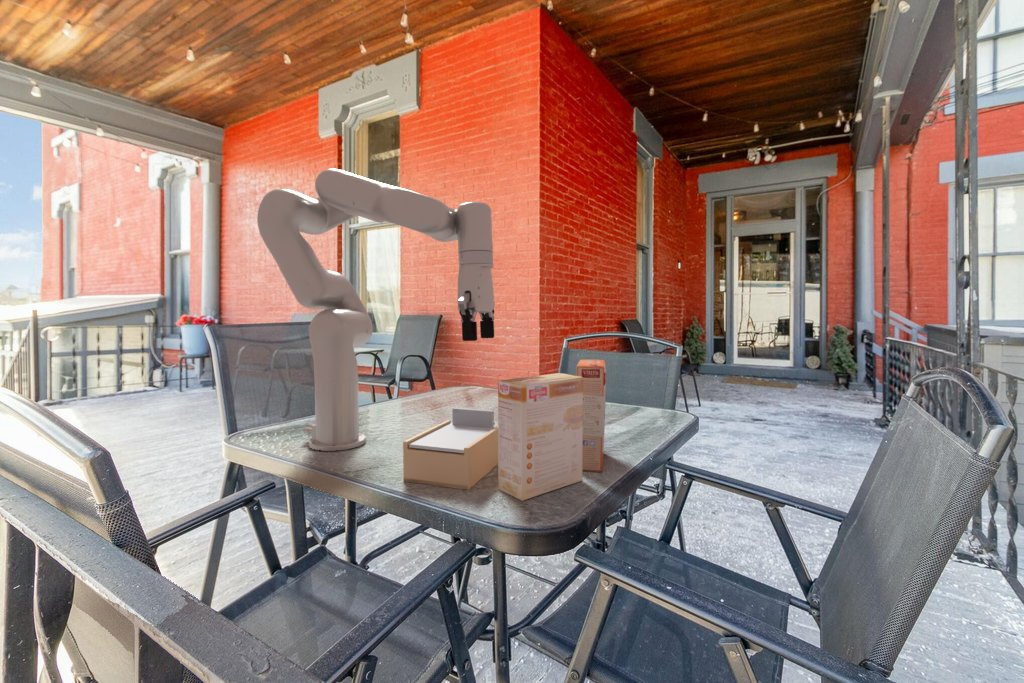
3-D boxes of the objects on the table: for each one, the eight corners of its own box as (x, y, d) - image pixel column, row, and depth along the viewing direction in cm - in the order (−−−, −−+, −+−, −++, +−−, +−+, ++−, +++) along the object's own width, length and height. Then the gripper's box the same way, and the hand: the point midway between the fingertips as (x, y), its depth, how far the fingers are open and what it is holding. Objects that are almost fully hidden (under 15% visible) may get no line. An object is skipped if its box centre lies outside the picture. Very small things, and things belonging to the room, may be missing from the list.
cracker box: (604, 473, 91) (606, 365, 89) (573, 471, 92) (574, 365, 91) (604, 452, 104) (606, 358, 103) (577, 450, 106) (578, 358, 104)
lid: (409, 447, 86) (409, 425, 85) (451, 425, 102) (451, 407, 102) (463, 453, 82) (463, 430, 82) (497, 429, 99) (497, 410, 98)
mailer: (403, 481, 86) (403, 441, 86) (447, 453, 103) (447, 420, 103) (468, 489, 82) (468, 448, 81) (503, 459, 99) (503, 424, 98)
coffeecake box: (556, 471, 92) (557, 372, 91) (584, 481, 86) (585, 376, 85) (496, 489, 82) (496, 379, 81) (522, 502, 77) (523, 384, 76)
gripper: (476, 265, 112) (479, 337, 113) (442, 258, 96) (445, 342, 97) (505, 263, 109) (508, 336, 110) (475, 255, 93) (479, 341, 94)
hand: (479, 339), depth 103 cm, fingers open, 9 cm apart
